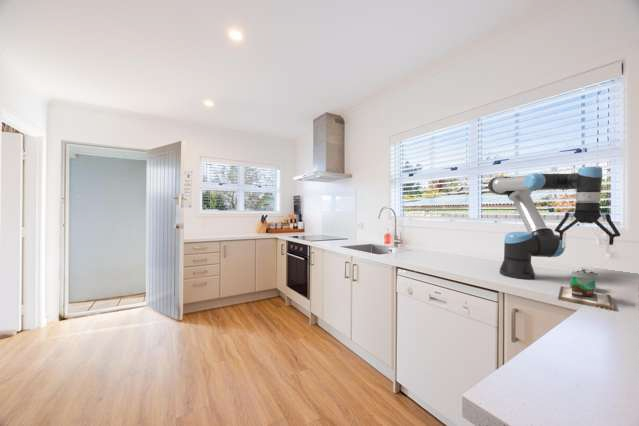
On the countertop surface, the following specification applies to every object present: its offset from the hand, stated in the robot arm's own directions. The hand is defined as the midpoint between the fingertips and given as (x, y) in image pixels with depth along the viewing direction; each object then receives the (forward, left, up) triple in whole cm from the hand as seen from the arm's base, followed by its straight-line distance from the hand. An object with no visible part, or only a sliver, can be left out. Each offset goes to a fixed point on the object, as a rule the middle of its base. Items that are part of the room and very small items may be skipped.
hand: (584, 249), depth 115 cm
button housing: (0, +5, -18) cm, 19 cm away
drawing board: (+1, -13, -18) cm, 23 cm away
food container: (+1, -13, -17) cm, 22 cm away
